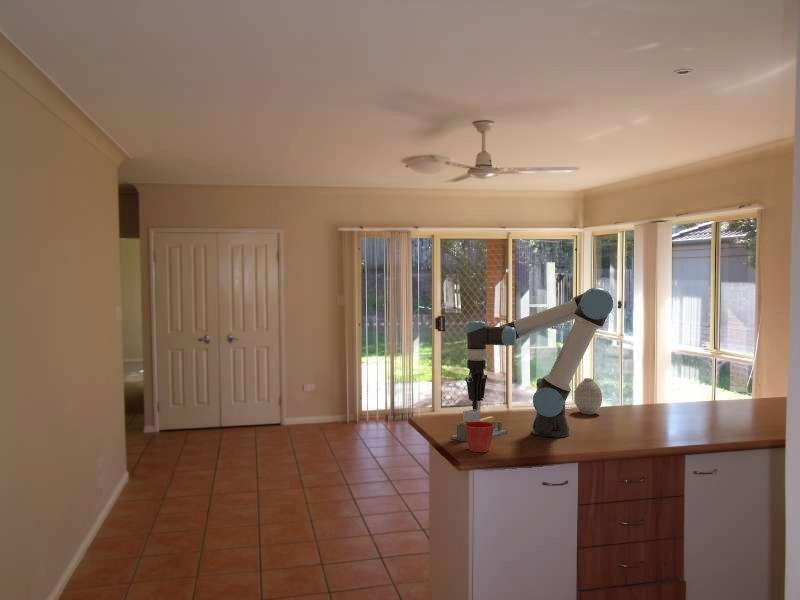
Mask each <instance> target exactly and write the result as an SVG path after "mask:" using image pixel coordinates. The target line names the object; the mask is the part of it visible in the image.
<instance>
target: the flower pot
mask: <svg viewBox="0 0 800 600" xmlns="http://www.w3.org/2000/svg"><path fill="white" fill-rule="evenodd" d="M493 429H494V424H492V423H489V422H480V421H476V422H468V423H466V424H465V431H466V436H467V442H466V443H467V447H468V449H469V451H471V452H475V453H478V452H479V453H486V452H490V450H491V445H492V441H493V438H492V435H493Z"/></svg>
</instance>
